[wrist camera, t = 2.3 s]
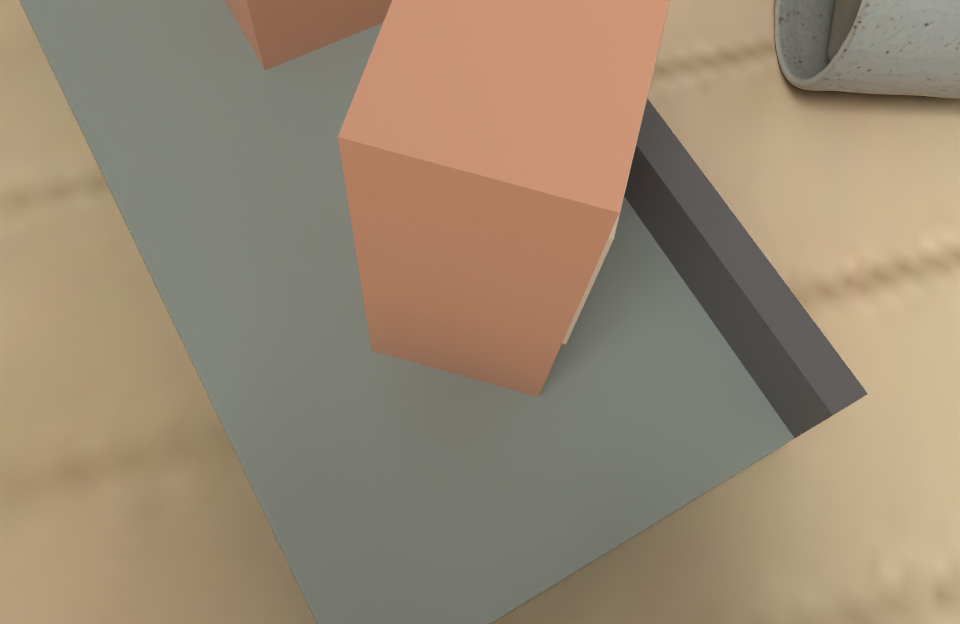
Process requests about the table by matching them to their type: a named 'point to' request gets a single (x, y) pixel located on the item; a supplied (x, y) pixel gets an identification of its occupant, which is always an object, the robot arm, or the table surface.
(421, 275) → the tea box
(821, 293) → the table surface
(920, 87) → the ceramic mug
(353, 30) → the tea box
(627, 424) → the display shelf
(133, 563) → the table surface
